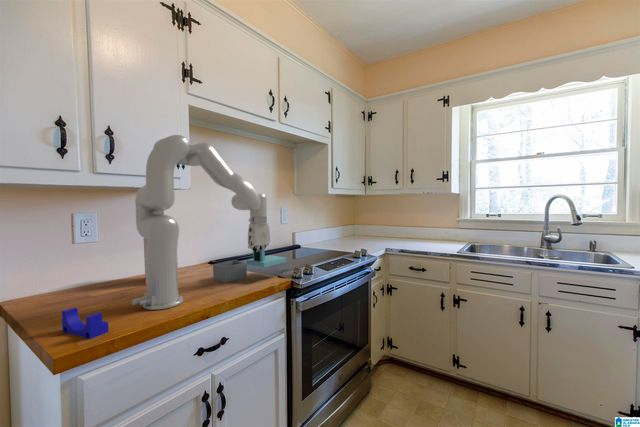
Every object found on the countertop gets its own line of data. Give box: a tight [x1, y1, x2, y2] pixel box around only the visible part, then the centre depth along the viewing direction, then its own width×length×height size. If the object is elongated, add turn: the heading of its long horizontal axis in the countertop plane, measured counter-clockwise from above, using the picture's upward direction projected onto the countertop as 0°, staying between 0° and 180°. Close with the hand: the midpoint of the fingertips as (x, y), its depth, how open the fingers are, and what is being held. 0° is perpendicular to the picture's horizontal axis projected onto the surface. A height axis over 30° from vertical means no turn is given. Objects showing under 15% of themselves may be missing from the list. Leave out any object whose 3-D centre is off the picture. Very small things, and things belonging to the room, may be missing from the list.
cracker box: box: [143, 237, 148, 286], centre depth 132 cm, size 14×6×21 cm, turn 25°
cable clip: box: [61, 307, 109, 340], centre depth 81 cm, size 12×4×6 cm, turn 69°
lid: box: [246, 249, 287, 268], centre depth 139 cm, size 15×12×7 cm
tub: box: [212, 259, 248, 284], centre depth 137 cm, size 12×9×7 cm
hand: (258, 259), depth 135 cm, fingers closed on lid, 1 cm apart
